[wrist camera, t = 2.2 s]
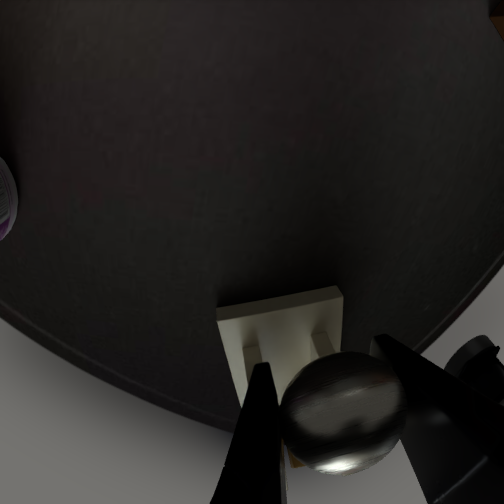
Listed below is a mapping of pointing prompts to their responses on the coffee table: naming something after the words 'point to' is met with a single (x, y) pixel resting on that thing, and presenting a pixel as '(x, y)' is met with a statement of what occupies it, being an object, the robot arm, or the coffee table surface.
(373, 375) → the lever
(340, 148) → the coffee table surface
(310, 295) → the bracket
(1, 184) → the pill bottle
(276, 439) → the robot arm
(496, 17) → the button box
